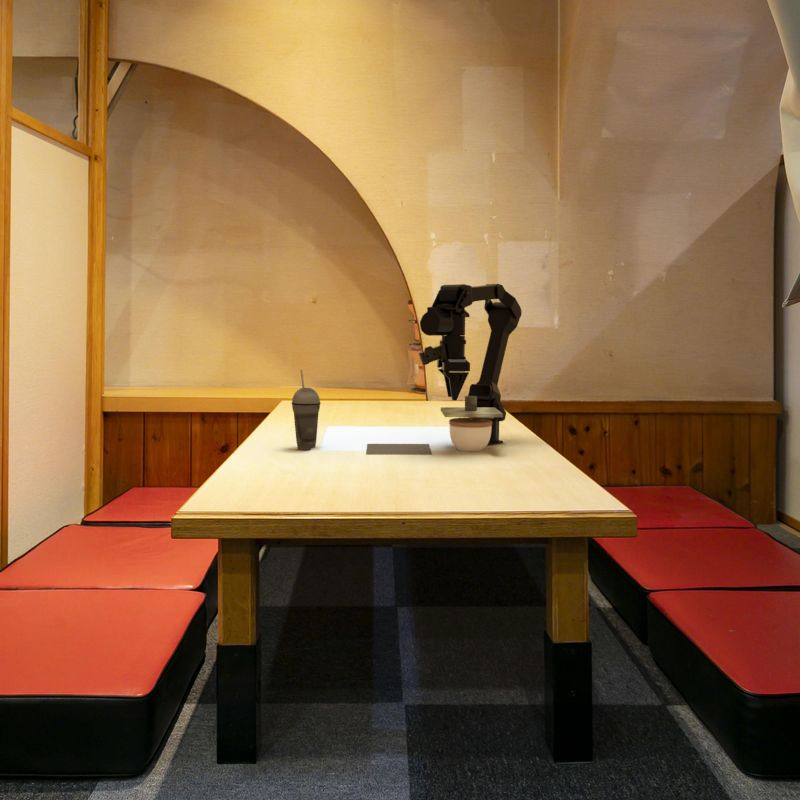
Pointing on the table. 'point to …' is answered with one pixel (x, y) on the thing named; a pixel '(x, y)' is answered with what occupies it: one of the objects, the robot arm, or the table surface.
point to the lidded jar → (470, 433)
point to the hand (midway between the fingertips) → (452, 398)
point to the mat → (398, 449)
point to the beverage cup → (306, 416)
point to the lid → (471, 410)
